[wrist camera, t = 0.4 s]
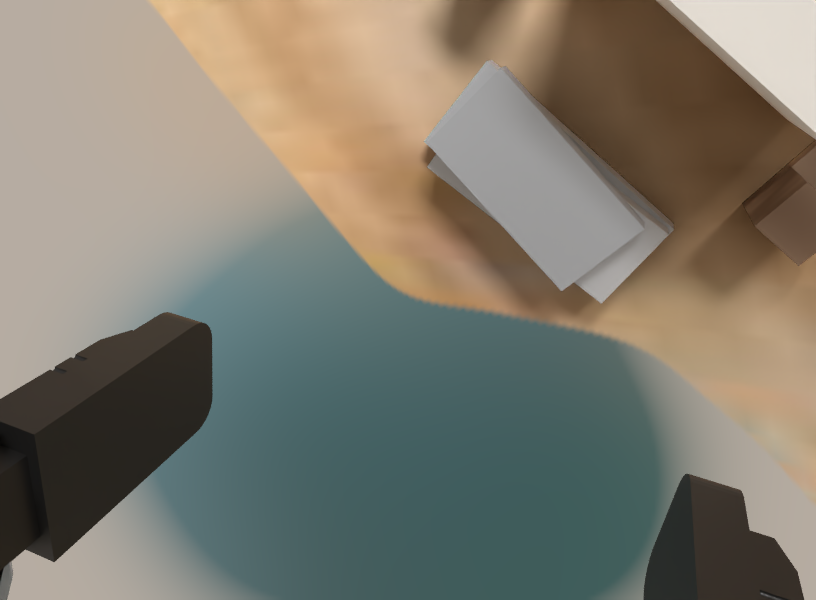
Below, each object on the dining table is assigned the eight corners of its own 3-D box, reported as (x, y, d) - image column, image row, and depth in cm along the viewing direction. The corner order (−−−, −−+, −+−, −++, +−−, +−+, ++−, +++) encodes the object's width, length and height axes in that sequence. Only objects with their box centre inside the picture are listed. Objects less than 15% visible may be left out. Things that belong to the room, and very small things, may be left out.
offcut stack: (499, 49, 32) (483, 52, 29) (683, 215, 32) (687, 236, 29) (424, 144, 35) (403, 157, 32) (593, 296, 35) (588, 323, 32)
